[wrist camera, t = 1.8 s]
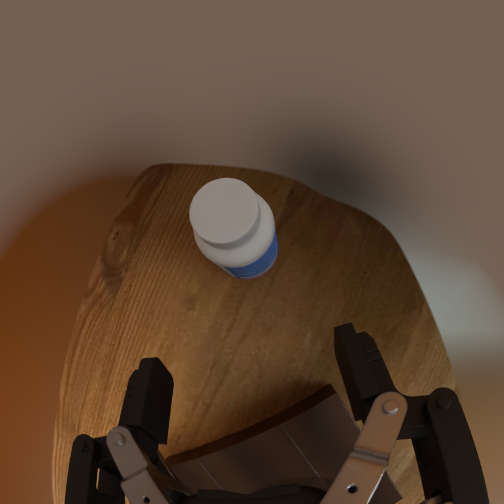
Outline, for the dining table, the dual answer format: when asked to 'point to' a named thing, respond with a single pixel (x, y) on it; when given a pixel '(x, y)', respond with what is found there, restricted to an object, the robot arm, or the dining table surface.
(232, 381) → the dining table surface
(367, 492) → the robot arm
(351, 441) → the base pad
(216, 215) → the pill bottle
